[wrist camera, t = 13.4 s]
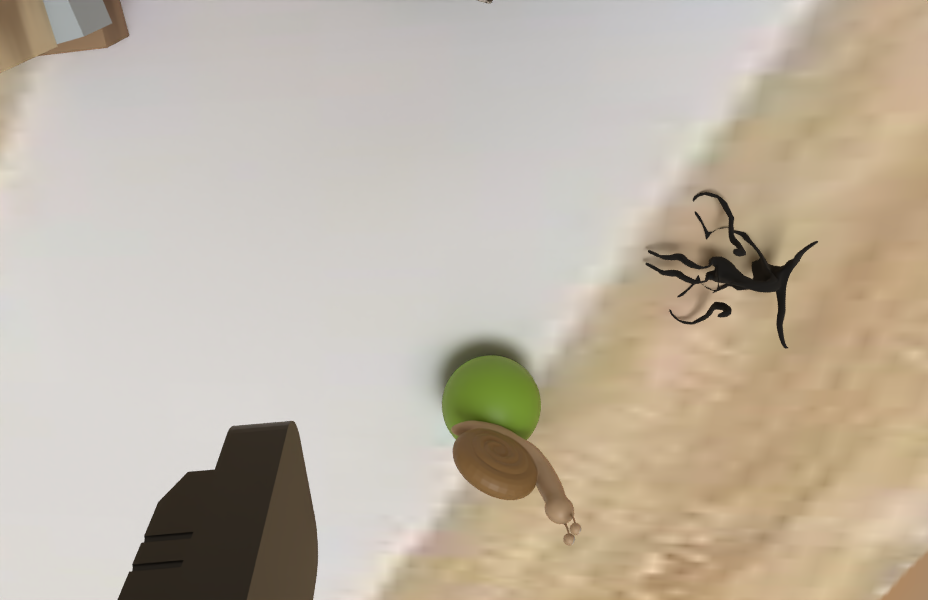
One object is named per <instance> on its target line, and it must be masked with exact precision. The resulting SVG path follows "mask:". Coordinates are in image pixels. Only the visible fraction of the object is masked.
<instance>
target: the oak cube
mask: <svg viewBox="0 0 928 600" xmlns="http://www.w3.org/2000/svg"><path fill="white" fill-rule="evenodd" d="M55 47H58V46H57V43H56V40H55V37H54V34H53V31H52V27H51V24H50V21H49V18H48V15H47V12H46V9H45V5H44V2H43V0H0V73H1V72H4V71H6V70H8V69H10V68H12V67H14V66H17V65H19V64H21V63H23V62H25V61H27V60H30V59H32V58H34V57H36V56H38V55H40V54H43V53H45V52H47V51H49V50H51V49H53V48H55Z"/></svg>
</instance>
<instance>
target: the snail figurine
mask: <svg viewBox="0 0 928 600" xmlns="http://www.w3.org/2000/svg"><path fill="white" fill-rule="evenodd" d="M540 410H541V401H540V394H539V390H538V388H537V385H536V383H535V381H534V379H533V378H532V376H531V375H530V374H529V372H528V371H527V370H526V369H525V368H524V367H522V366H521V365H520V364H518V363H517V362H515V361H513V360H511V359H508V358H505V357H502V356H495V355H488V356H481V357H477V358H474V359H471V360H469V361H467V362H466V363H464V364H463V365H461V366H460V367H459V368H458V369H457V370H456V371H455V372H454V373H453V374H452V376H451V377H450V379H449V380H448V382H447V384H446V386H445V389H444V393H443V398H442V412H443V417H444V421H445V423H446V426H447V428H448V430H449V431H450V433H451V434H452V436H453V437H454V438H455V439H456V441H455V443H454V446H453V458H454V462H455V464H456V466H457V468H458V470H459V472H460V473H461V474H462V476H463V477H464V478H465V479H466V480H467V481H468V482H469V483H470V484H472V485H473V486H474V487H476V488H477V489H479V490H480V491H482V492H484V493H486V494H488V495H490V496H493V497H496V498H499V499H504V500H517V499H521V498H524V497H525V496H527V495H529V494H530V493H531V492H532V490H533V489H534V488H535V485H536V486H537V488H538V490H539V492H540V494H541V496H542V497H543V499H544V501H545V503H546V504H545V512H546V515H547V516H548V518H549V519H550V520H551V521H553V522H554V523H557V524H564V525H565V526H566V529H567V532H568V534H566V535H565V536H564V543H565V544H566V545H572V544H573V543H574V540H575V537H574V535H578V534H579V533H580V531H581V526H580V525H579V524H578V523H576V522H575V519H574V508H573V505H572V503H571V501H570V500H569V499H568V498H567V497H566V495H565V492H564V489H563V486H562V484H561V482H560V480H559V478H558V476H557V474H556V472H555V470H554V469H553V467H552V466H551V464H550V463H549V461H548V460H547V459H546V457H545V456H544V455H543V454H542V452H541V451H540V450H539V449H538V448H537V447H536V446H534V445H533V444H532V443H530V442H529V441H527V439H528V438H529V437H530V436H531V434H532V433H533V431H534V429H535V428H536V425H537V423H538V420H539V416H540ZM572 518H573V521H574V523H573V524H572V525H571V526H570V532H571V533H572V534H570V533H569V530H568V527H567V523H568V522H569V521H571V520H572Z"/></svg>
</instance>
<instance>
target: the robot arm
mask: <svg viewBox="0 0 928 600" xmlns="http://www.w3.org/2000/svg"><path fill="white" fill-rule="evenodd" d="M144 537H145V541H144V543H141V545H140V547H139V550H138V552H137V554H136V557H135V559H134V562H133V564H132V565H133V570H132V572H129V574H128V576H127V578H126V581H125V583H124V586H123V588H122V590H121V593H120V595H119V598H118V600H313V596H314V590H315V583H316V576H317V566H318V541H317V528H316V521H315V515H314V510H313V505H312V499H311V494H310V489H309V483H308V478H307V473H306V468H305V462H304V457H303V452H302V446H301V441H300V436H299V432H298V429H297V426H296V424H295V422H294V421H286V422H274V423H263V424H251V425H239V426H232V427H231V428H230V429H229V431H228V433H227V436H226V439H225V442H224V444H223V447H222V450H221V453H220V456H219V459H218V462H217V465H216V468H215V470H205V471H193V472H187V473H186V475H185V476H184V477H183V478H182V479H181V480H180V481H179V482H178V483H177V484H176V485H175V486H174V487H173V488H172V489H171V490H170V491H169V492H168V493H167V494H166V495H165V496H164V497H163V498H162V499H161V500H160V501H159V502H158V504H157V507H156V509H155V511H154V514H153V516H152V519H151V521H150V523H149V526H148V528H147V531H146V533H145V535H144Z"/></svg>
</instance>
